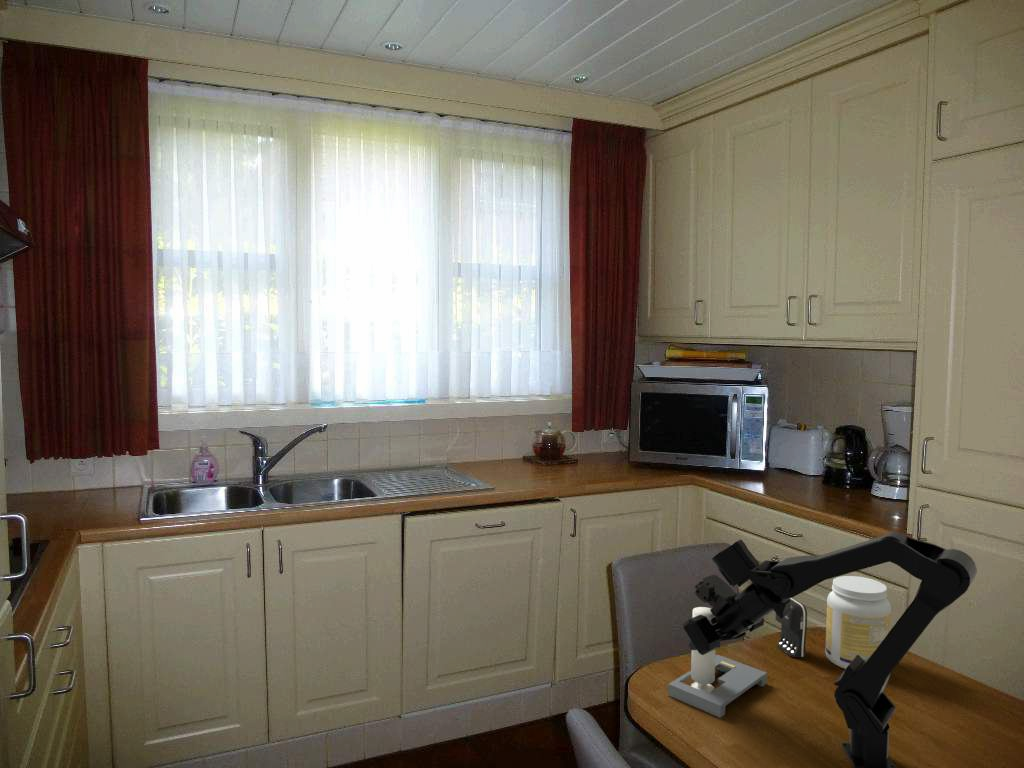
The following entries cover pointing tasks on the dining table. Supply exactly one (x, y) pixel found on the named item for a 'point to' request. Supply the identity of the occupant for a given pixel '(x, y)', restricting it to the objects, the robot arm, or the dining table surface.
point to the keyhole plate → (732, 686)
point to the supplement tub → (856, 619)
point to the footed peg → (703, 660)
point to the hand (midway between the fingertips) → (697, 644)
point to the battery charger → (793, 630)
